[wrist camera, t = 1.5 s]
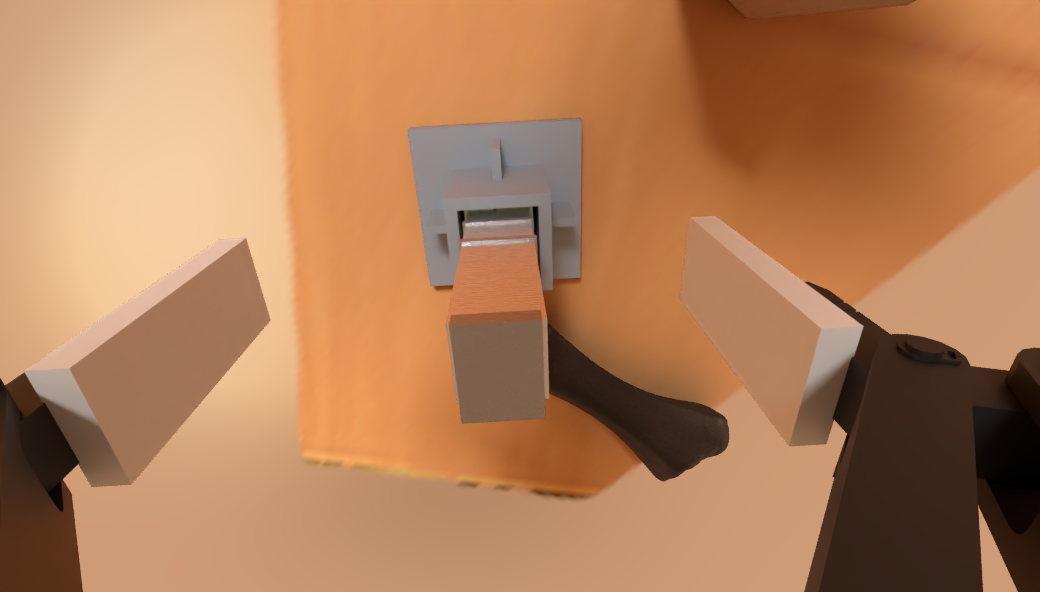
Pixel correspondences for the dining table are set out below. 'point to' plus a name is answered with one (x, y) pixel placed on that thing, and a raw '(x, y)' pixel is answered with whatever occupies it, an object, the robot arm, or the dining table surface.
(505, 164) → the stand base
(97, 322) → the robot arm
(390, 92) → the dining table surface
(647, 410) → the dark brown bone
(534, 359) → the column
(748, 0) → the wooden block
